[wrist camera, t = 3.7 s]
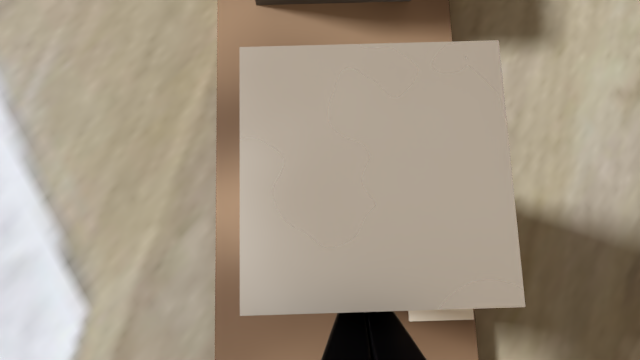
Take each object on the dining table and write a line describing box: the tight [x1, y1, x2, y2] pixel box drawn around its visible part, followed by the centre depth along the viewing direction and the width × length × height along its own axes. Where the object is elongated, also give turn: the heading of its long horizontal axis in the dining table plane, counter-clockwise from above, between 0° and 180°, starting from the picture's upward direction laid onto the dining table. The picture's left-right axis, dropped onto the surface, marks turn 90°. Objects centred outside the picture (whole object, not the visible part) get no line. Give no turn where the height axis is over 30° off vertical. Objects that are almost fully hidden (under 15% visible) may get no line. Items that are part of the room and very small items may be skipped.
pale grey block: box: [240, 40, 525, 316], centre depth 12 cm, size 6×6×10 cm
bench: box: [215, 0, 478, 360], centre depth 16 cm, size 18×9×6 cm, turn 2°
